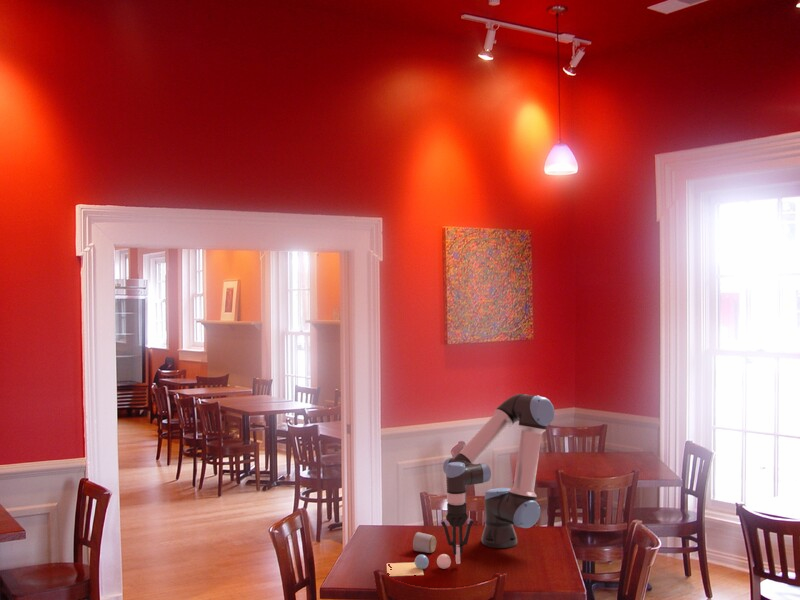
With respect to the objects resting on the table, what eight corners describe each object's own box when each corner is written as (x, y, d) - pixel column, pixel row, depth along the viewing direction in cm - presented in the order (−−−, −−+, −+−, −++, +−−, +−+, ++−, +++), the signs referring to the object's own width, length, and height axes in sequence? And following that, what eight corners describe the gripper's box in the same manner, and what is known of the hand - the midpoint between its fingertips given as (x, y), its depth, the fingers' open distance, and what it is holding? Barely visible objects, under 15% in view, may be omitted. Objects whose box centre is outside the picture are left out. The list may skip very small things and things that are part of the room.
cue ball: (437, 550, 307) (434, 564, 307) (439, 556, 302) (436, 570, 302) (450, 552, 308) (448, 566, 308) (453, 558, 302) (450, 572, 303)
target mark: (421, 562, 312) (421, 562, 312) (423, 575, 298) (423, 574, 298) (386, 563, 312) (386, 563, 312) (387, 576, 298) (387, 576, 298)
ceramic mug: (430, 555, 320) (430, 537, 320) (412, 553, 324) (412, 534, 324) (440, 548, 330) (440, 530, 330) (422, 546, 333) (422, 528, 333)
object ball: (430, 555, 308) (417, 550, 308) (431, 559, 302) (417, 555, 302) (425, 568, 308) (412, 563, 308) (426, 573, 302) (413, 568, 302)
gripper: (471, 499, 309) (473, 558, 310) (439, 500, 309) (440, 559, 309) (474, 504, 302) (475, 565, 302) (440, 505, 301) (442, 566, 302)
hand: (458, 562), depth 306 cm, fingers closed
